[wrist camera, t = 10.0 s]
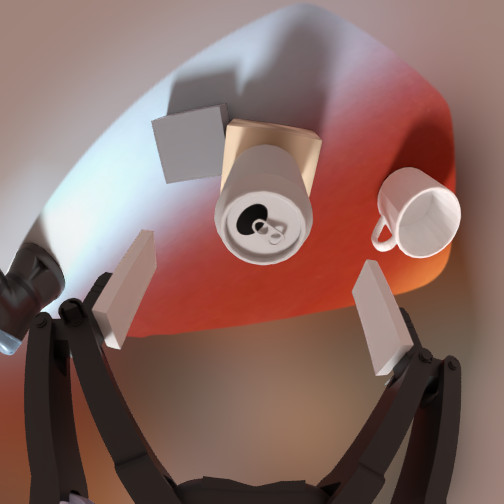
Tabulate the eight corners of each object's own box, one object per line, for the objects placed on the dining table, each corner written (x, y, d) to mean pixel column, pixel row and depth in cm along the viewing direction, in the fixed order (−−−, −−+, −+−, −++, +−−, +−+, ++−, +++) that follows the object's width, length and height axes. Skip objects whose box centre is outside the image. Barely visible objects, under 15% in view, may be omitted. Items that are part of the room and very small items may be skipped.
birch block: (226, 189, 36) (218, 209, 32) (234, 118, 31) (227, 125, 26) (298, 200, 37) (302, 221, 32) (313, 130, 31) (322, 140, 26)
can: (257, 128, 26) (250, 159, 16) (313, 170, 28) (338, 224, 18) (218, 182, 30) (191, 240, 20) (272, 217, 32) (272, 287, 22)
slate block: (178, 170, 35) (166, 183, 31) (166, 115, 30) (151, 121, 26) (235, 162, 34) (230, 174, 30) (226, 103, 29) (219, 106, 25)
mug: (423, 153, 31) (454, 173, 24) (439, 210, 35) (464, 237, 29) (346, 192, 35) (363, 220, 29) (371, 246, 40) (387, 279, 34)
